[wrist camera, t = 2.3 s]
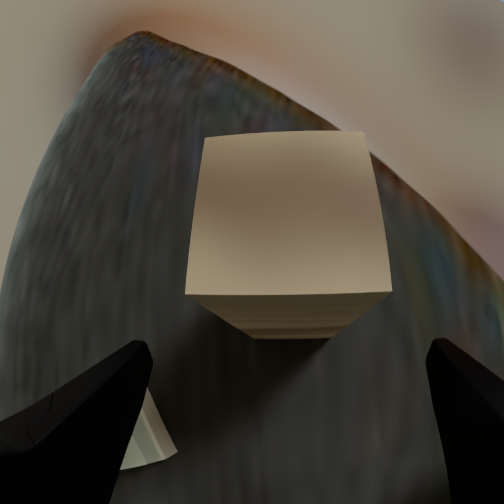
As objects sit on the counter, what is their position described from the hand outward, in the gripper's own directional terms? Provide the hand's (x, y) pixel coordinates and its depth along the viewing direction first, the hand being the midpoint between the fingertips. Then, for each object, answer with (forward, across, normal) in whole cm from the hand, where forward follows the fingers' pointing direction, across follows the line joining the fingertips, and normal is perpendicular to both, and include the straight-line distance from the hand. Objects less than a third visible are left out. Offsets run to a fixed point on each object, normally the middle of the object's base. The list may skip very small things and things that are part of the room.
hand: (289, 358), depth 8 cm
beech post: (+10, 0, +5) cm, 12 cm away
